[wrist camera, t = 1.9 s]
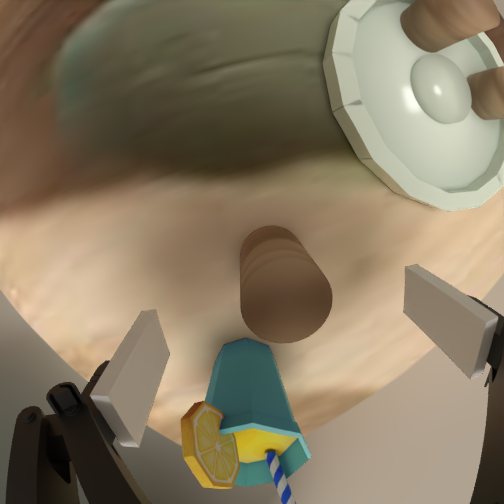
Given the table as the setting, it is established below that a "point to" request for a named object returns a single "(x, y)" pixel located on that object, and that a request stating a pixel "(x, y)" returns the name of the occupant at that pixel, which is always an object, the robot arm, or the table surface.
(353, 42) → the tray
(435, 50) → the brown rounded cylinder
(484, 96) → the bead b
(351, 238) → the table surface
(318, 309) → the brown stubby piece
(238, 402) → the cup
